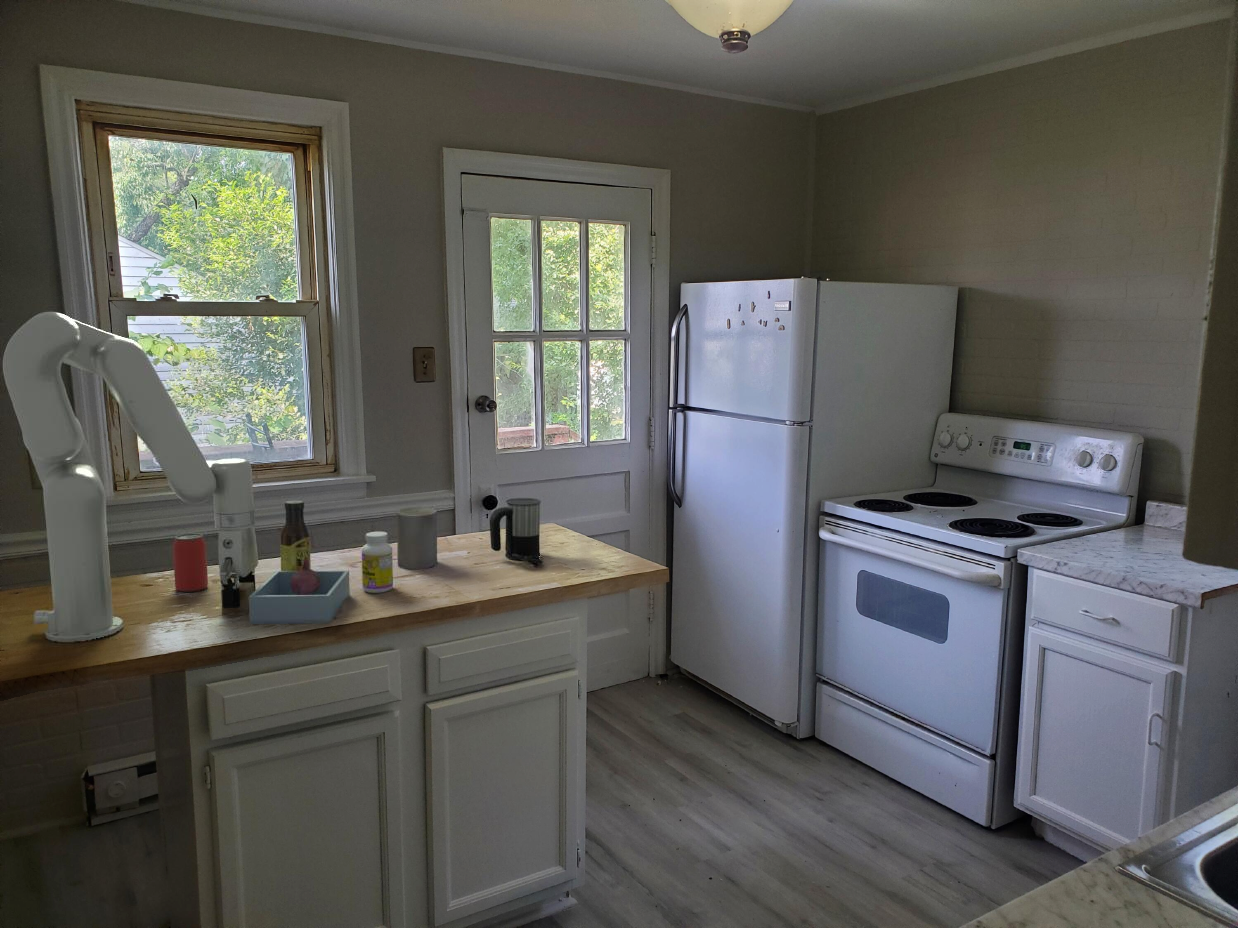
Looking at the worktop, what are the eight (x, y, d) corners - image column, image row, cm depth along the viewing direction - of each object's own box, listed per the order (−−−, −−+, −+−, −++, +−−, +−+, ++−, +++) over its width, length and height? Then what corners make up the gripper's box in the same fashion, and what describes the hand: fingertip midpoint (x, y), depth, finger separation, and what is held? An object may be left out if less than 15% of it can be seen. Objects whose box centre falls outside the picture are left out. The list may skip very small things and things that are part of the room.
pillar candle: (398, 560, 222) (396, 502, 219) (437, 558, 224) (436, 501, 221) (397, 570, 212) (395, 510, 210) (438, 568, 215) (437, 509, 212)
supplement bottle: (356, 589, 197) (355, 533, 195) (382, 583, 201) (381, 528, 200) (373, 595, 192) (371, 538, 190) (399, 589, 197) (397, 533, 195)
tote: (250, 623, 173) (248, 596, 172) (277, 595, 191) (276, 571, 190) (330, 622, 174) (329, 595, 173) (349, 595, 192) (348, 570, 191)
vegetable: (322, 602, 185) (320, 556, 183) (290, 605, 183) (288, 558, 181) (320, 594, 190) (319, 549, 189) (290, 597, 188) (288, 551, 187)
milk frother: (523, 550, 234) (523, 495, 232) (567, 560, 225) (567, 503, 222) (484, 560, 223) (483, 503, 221) (529, 571, 213) (529, 512, 211)
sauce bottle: (301, 594, 192) (297, 505, 189) (275, 591, 194) (271, 503, 191) (317, 585, 199) (314, 499, 196) (292, 583, 200) (288, 498, 197)
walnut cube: (222, 613, 179) (220, 589, 178) (230, 605, 184) (229, 582, 183) (247, 613, 179) (246, 589, 179) (255, 605, 184) (254, 582, 184)
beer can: (213, 588, 195) (210, 536, 193) (182, 594, 190) (179, 541, 189) (201, 582, 200) (198, 531, 198) (170, 588, 195) (167, 535, 193)
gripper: (239, 528, 171) (244, 613, 173) (266, 510, 188) (271, 587, 190) (199, 529, 170) (205, 614, 173) (230, 510, 187) (235, 588, 190)
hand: (239, 599), depth 182 cm, fingers open, 9 cm apart
